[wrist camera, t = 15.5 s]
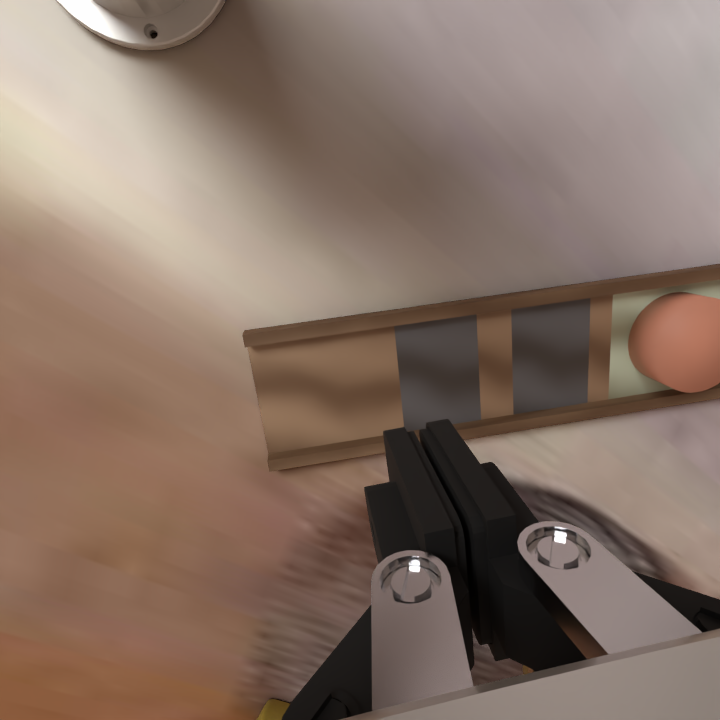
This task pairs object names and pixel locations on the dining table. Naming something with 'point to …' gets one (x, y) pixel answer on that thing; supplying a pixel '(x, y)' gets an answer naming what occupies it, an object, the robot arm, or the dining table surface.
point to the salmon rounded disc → (678, 341)
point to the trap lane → (461, 367)
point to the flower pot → (273, 710)
